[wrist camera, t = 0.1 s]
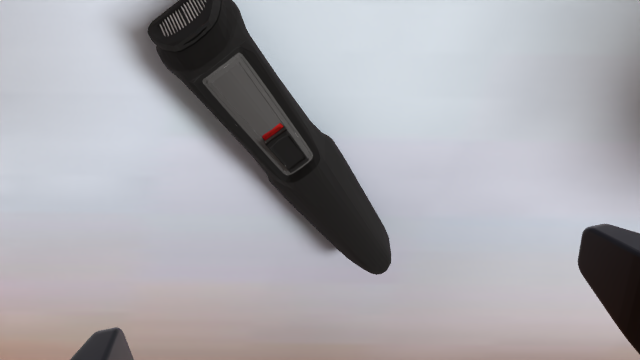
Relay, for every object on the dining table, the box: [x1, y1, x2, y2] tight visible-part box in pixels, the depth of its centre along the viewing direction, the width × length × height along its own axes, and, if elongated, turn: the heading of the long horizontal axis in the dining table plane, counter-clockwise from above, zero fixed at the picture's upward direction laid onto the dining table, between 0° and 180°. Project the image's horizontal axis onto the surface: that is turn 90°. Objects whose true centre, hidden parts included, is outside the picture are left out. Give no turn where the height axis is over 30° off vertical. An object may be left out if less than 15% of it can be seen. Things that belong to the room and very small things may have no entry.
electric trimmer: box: [148, 0, 391, 275], centre depth 22 cm, size 4×16×3 cm, turn 34°
